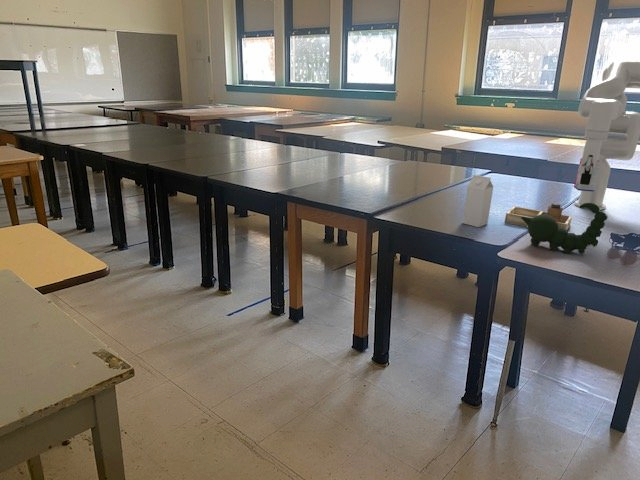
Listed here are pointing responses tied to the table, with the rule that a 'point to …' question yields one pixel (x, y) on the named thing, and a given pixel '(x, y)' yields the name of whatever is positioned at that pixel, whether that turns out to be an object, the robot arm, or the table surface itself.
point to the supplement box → (592, 181)
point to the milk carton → (478, 201)
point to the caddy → (553, 211)
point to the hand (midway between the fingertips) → (585, 182)
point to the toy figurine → (565, 231)
